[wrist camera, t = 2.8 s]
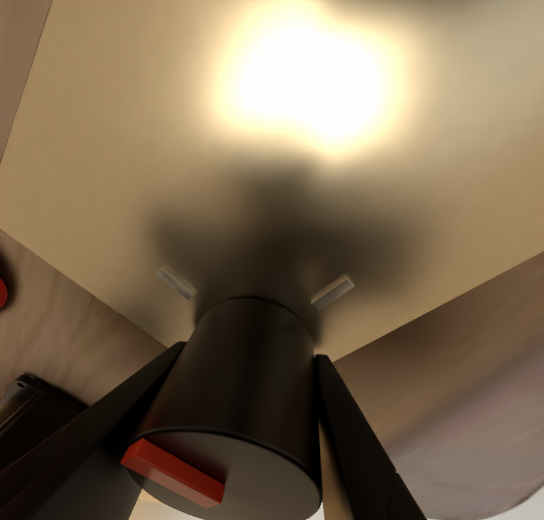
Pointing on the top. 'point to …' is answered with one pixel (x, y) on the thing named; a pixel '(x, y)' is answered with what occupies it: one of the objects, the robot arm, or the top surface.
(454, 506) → the top surface
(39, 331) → the top surface
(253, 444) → the hob knob
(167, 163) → the plate
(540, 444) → the top surface
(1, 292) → the tracker holder
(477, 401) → the top surface
